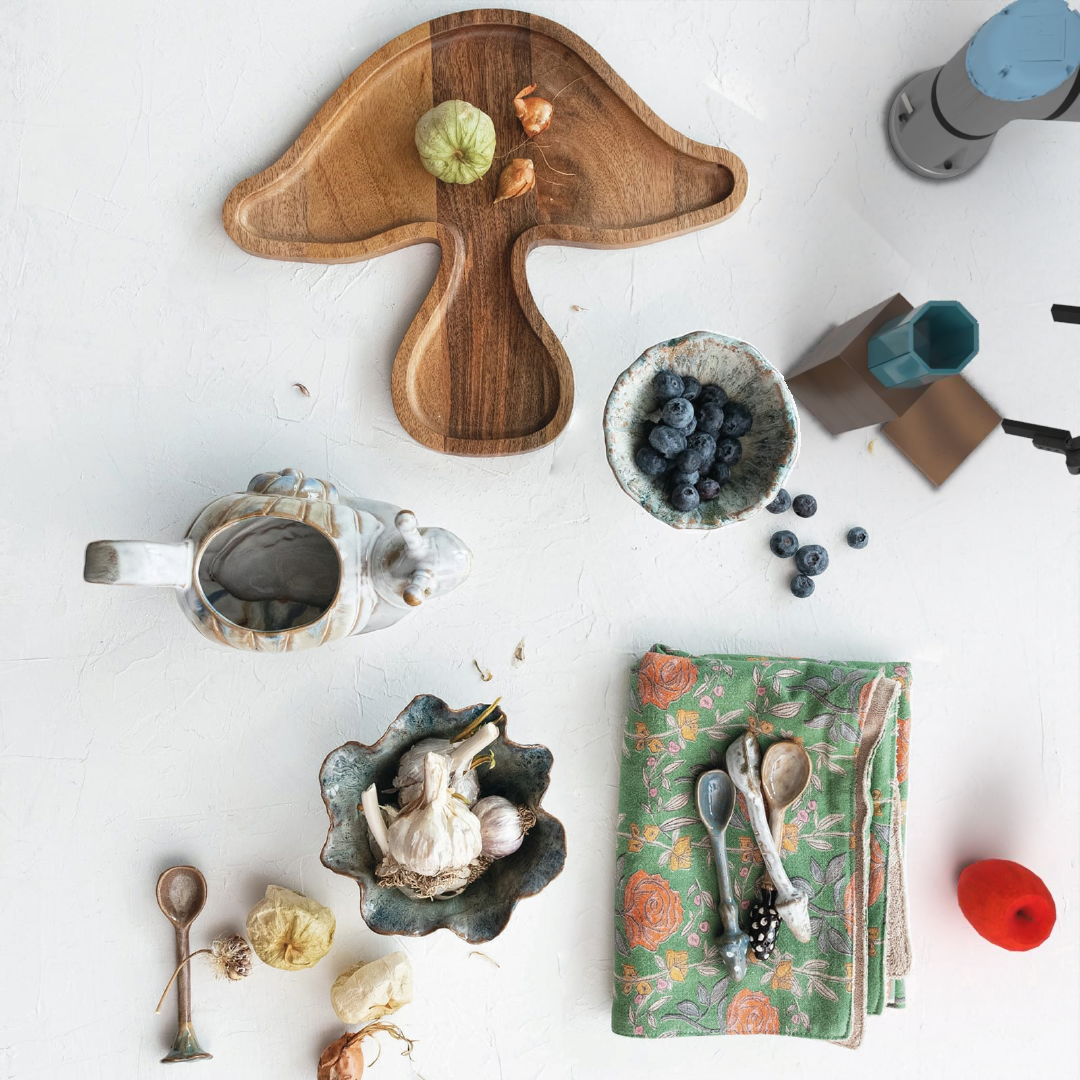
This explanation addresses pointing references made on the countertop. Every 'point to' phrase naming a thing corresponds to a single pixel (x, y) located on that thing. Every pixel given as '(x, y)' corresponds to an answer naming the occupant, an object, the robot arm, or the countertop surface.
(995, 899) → the apple
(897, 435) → the mat
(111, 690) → the countertop surface
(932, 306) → the cup
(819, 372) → the block
